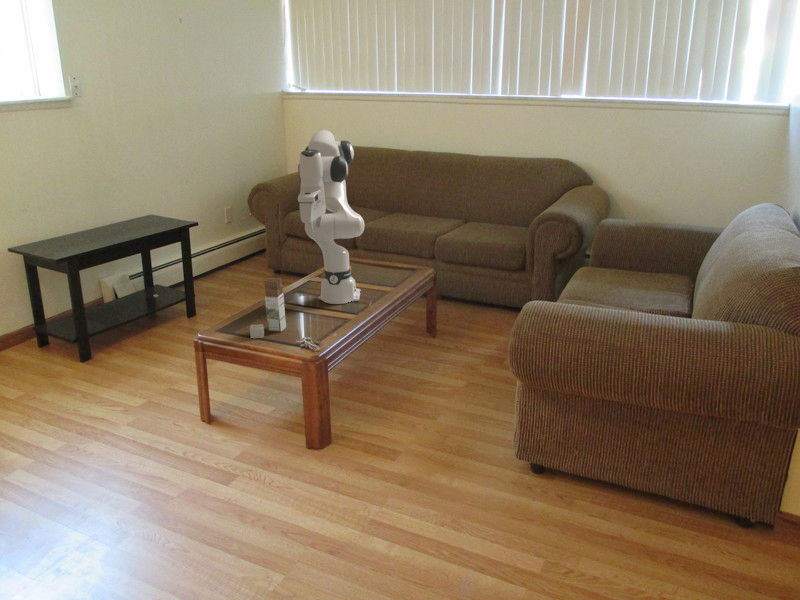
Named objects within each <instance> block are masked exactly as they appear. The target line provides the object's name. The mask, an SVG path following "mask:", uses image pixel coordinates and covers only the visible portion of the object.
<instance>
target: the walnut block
mask: <svg viewBox="0 0 800 600" xmlns="http://www.w3.org/2000/svg"><path fill="white" fill-rule="evenodd" d="M264 291H265V296H271V297H278V296H279V295H281V294H282V293H283V283H282V277H268V278H267V279H266V280H265V281H264ZM283 294H284V293H283Z"/></svg>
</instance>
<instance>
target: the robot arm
mask: <svg viewBox="0 0 800 600" xmlns="http://www.w3.org/2000/svg"><path fill="white" fill-rule="evenodd" d="M335 138H336V137H335V135H334V134H333V133H332V132H331V131H330V130H327V129H320V130H318V131H317V132H315V133H314V134H313V135H312V137H311V138H310V140H309V142H308V146H306V148H305V149H304V150H303V151H301V152H300V154H299V163H298V164H297V167H298V169H297V170H298V177H299V178H300V192H299V194H298V196H297V202H298V203H299V204H298V205H299V216H300V220H301V221H300V222H301V223H303V224H304V230H305V233H306V235H307V236H308V237H309V238H310V239H312V240H313V241H314V242H315V243H316V244H317V245H318V246H319V249H321V252H322V257H323V265H324V266H323V267H324V269H323V280H322V281H321V282H320V284H321V285H320V288H321V289H320V293H321V294H320V295H319V296H318V297H317V298H318V300H321V302H324V303H326V304H331V305H341V304H348V302H349V303H351V301H352V302H356V301H357V302H358V301H360V297H361V293H360V291H361V290H362V289H361V288H357V286H356V280H355V278H353V276H352V266H350V253H349V251H348V249H346V248H345V247H344V246H342V245H339V244H337V242H335V240H337V239H353V238H356V237H360V236H361V235H362V234H363V233H364V232H365V231H364V230H365V226H366V225H365V220H364V219H363V217H362V216H361V214H359V213H357V212H356V211H355V210H353V209H352V208H351V206H350V205H349V203H348V197H347V184H346V182H347V181H346V179H347V178H348V175H349V166H350V165H351V164H352V163H353V160H354V156H355V151H354V147H353V146H352V143H351V142H350V141H348V140H341V141H340V140H337V141H336V139H335ZM327 210H328V211H329V212H332V213H326V211H327ZM361 292H362V291H361Z"/></svg>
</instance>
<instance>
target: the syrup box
mask: <svg viewBox="0 0 800 600" xmlns="http://www.w3.org/2000/svg"><path fill="white" fill-rule="evenodd" d="M264 300H265V301H264V303H265V312H266V313H265V314H266V322H267V323H266V324H267V331H268V332H280V333H281V332H282V331H284V330H285V329H286V328H287V323H286V322H287V321H286V310H285V295H284V293H282V294H281V295H279V296H278V297H271V296H266V295H265V296H264Z"/></svg>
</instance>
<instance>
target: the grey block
mask: <svg viewBox="0 0 800 600" xmlns="http://www.w3.org/2000/svg"><path fill="white" fill-rule="evenodd" d="M249 334H250V339H251V338H253V339H264V338H265V329H264V323H260V324H259V323H258V324H250V325H249Z"/></svg>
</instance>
